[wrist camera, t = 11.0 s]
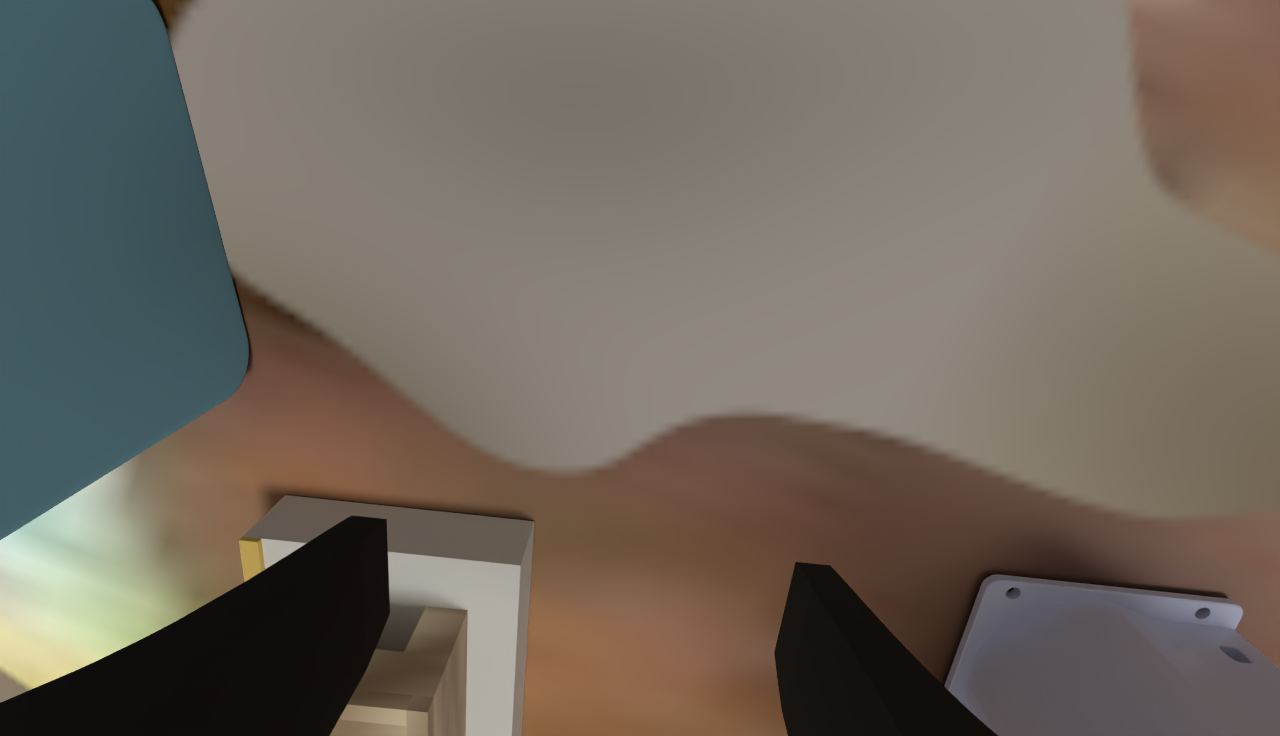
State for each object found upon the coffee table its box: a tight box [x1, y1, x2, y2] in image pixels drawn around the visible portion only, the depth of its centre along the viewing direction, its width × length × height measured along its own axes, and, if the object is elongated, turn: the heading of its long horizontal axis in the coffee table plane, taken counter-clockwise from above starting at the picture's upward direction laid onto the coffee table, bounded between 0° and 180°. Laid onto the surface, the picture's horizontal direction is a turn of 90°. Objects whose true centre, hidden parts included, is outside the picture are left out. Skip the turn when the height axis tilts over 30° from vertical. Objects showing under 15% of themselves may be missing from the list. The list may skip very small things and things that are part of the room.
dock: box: [239, 495, 534, 736], centre depth 24 cm, size 9×14×3 cm, turn 174°
